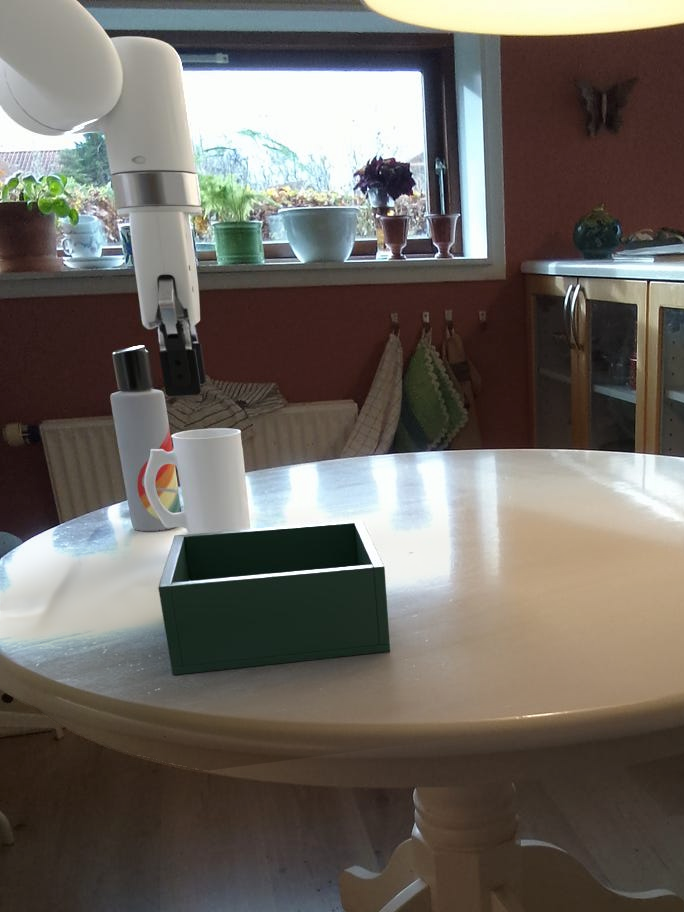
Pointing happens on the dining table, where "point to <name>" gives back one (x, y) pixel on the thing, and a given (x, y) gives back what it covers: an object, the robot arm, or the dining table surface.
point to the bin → (273, 596)
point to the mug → (204, 481)
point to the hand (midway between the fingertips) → (187, 389)
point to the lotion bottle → (142, 436)
